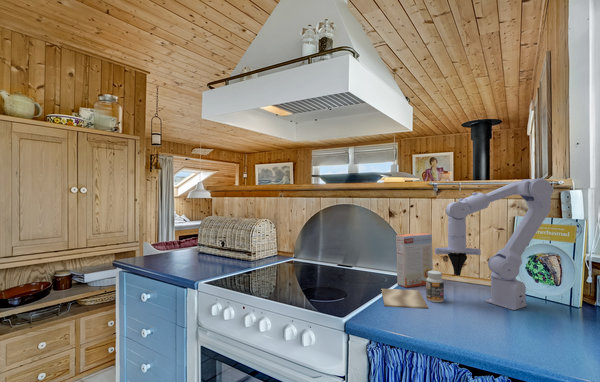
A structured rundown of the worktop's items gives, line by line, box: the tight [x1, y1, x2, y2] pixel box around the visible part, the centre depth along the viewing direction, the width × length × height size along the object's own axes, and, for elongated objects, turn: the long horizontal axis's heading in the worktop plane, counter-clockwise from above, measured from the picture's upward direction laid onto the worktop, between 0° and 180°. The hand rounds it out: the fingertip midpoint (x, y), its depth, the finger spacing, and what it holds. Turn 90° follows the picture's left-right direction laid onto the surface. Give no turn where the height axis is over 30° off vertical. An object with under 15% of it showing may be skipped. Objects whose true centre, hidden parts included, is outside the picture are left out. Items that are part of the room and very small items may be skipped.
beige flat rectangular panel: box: [380, 288, 429, 309], centre depth 115 cm, size 14×18×1 cm
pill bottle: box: [425, 270, 445, 303], centre depth 113 cm, size 6×6×10 cm
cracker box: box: [395, 232, 434, 288], centre depth 132 cm, size 14×6×21 cm, turn 109°
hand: (457, 274), depth 111 cm, fingers closed
